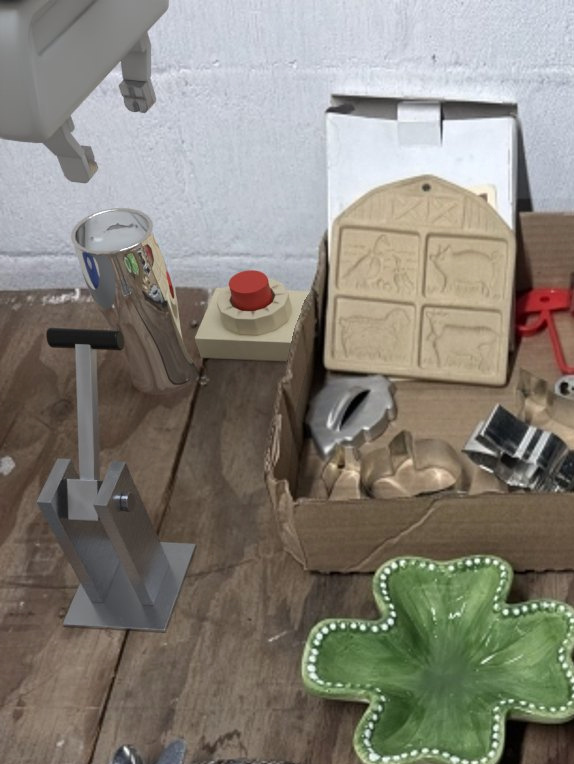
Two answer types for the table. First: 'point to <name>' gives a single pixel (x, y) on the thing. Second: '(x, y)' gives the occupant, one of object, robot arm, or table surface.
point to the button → (250, 290)
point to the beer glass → (135, 296)
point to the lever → (86, 412)
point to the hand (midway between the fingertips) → (114, 141)
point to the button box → (250, 326)
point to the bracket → (115, 555)
